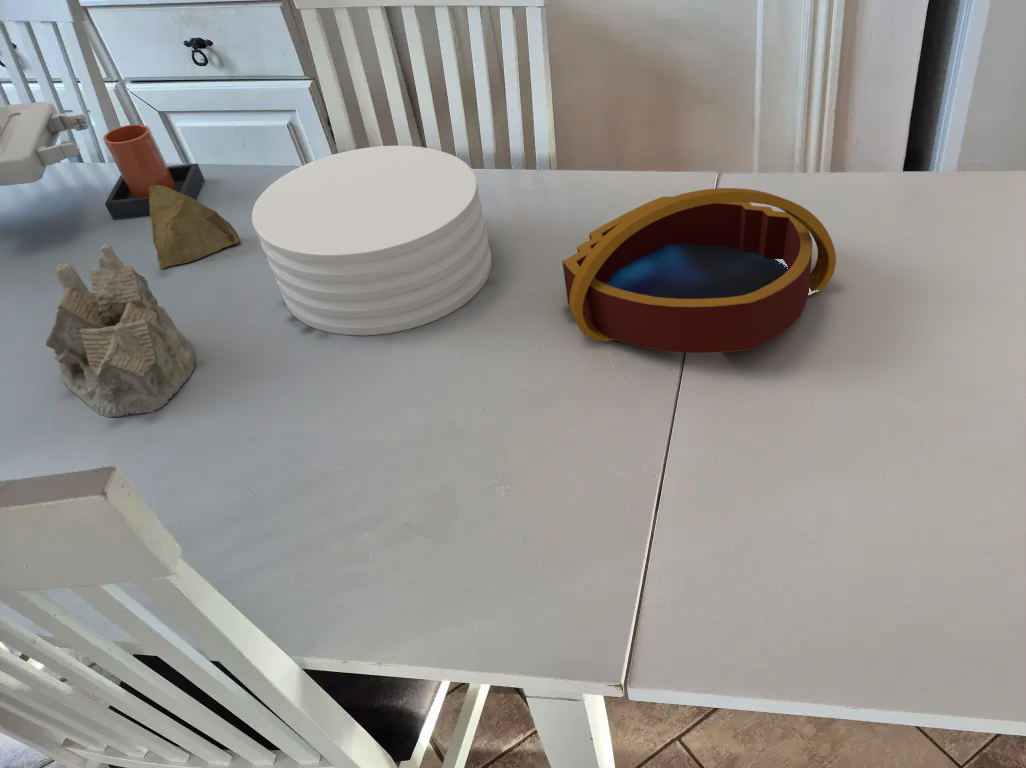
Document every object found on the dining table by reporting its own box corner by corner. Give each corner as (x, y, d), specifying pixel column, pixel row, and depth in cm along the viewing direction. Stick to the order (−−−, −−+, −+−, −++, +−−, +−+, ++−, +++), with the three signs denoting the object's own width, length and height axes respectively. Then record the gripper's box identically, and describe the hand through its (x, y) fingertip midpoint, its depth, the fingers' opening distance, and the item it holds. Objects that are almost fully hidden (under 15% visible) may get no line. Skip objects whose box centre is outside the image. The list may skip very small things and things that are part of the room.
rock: (247, 212, 123) (177, 206, 123) (223, 185, 115) (147, 179, 114) (238, 283, 122) (167, 277, 121) (213, 262, 113) (137, 255, 113)
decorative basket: (790, 246, 119) (792, 137, 110) (882, 338, 97) (895, 211, 87) (556, 289, 115) (538, 179, 106) (596, 396, 92) (577, 269, 83)
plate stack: (472, 206, 126) (457, 131, 118) (510, 307, 108) (495, 226, 99) (281, 243, 121) (251, 167, 113) (286, 356, 103) (251, 274, 94)
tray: (113, 219, 128) (104, 203, 126) (130, 187, 135) (122, 171, 133) (191, 210, 129) (183, 194, 127) (204, 179, 136) (197, 163, 134)
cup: (142, 210, 129) (109, 147, 121) (130, 195, 132) (98, 133, 125) (184, 197, 131) (154, 133, 124) (171, 182, 135) (142, 120, 128)
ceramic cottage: (87, 336, 107) (21, 234, 95) (216, 335, 107) (165, 233, 95) (31, 425, 97) (-51, 322, 85) (173, 424, 97) (110, 322, 85)
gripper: (-54, 160, 112) (58, 142, 114) (-18, 100, 125) (81, 86, 128) (-25, 204, 116) (82, 186, 119) (6, 142, 130) (102, 127, 132)
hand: (82, 134), depth 123 cm, fingers open, 8 cm apart
